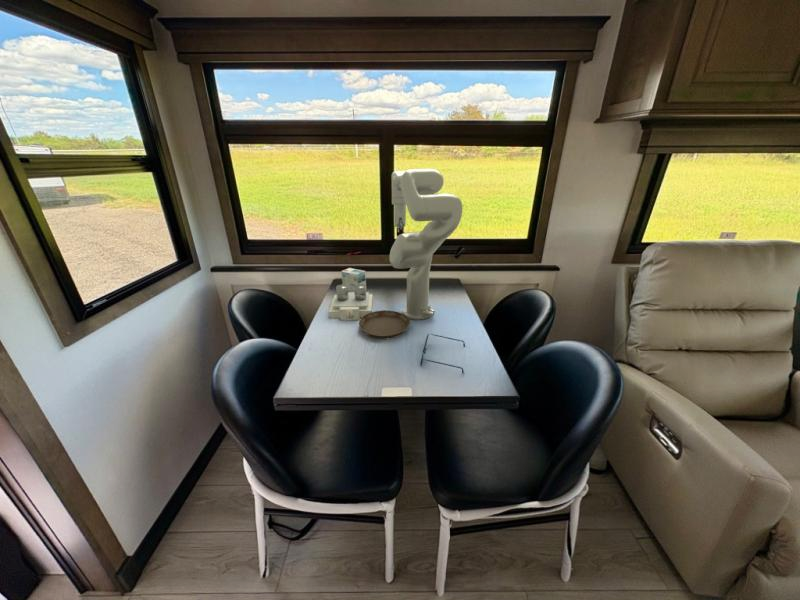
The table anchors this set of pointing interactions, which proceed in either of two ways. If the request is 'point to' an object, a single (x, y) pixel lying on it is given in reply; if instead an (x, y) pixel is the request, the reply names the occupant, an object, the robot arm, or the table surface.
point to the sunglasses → (439, 362)
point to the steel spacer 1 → (342, 292)
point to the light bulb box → (353, 278)
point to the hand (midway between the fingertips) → (400, 238)
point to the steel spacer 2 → (360, 292)
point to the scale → (351, 307)
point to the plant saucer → (384, 324)
